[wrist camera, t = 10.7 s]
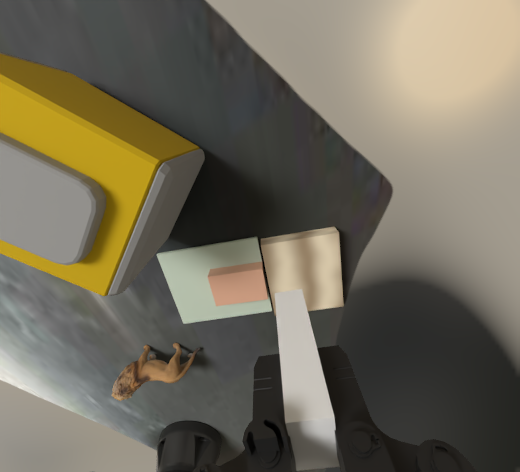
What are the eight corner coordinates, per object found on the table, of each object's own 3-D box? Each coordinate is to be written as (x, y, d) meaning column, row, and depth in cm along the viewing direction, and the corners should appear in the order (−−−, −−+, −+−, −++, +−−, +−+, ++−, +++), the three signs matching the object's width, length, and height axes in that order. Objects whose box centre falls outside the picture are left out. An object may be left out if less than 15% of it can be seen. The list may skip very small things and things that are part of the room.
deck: (274, 306, 47) (274, 315, 44) (260, 238, 41) (260, 245, 39) (339, 297, 46) (343, 306, 44) (334, 226, 40) (338, 232, 38)
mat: (184, 321, 48) (183, 323, 48) (157, 253, 42) (156, 254, 42) (272, 309, 47) (272, 310, 47) (257, 236, 41) (257, 237, 41)
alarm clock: (46, 178, 38) (-130, 222, 21) (71, 69, 32) (-140, 6, 15) (170, 238, 41) (107, 316, 24) (211, 150, 36) (168, 172, 19)
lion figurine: (137, 365, 53) (114, 409, 45) (127, 346, 51) (101, 389, 43) (204, 354, 52) (193, 398, 43) (196, 335, 50) (183, 377, 41)
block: (218, 297, 45) (216, 306, 43) (210, 269, 43) (207, 276, 41) (267, 290, 45) (268, 299, 43) (262, 261, 42) (262, 268, 40)
